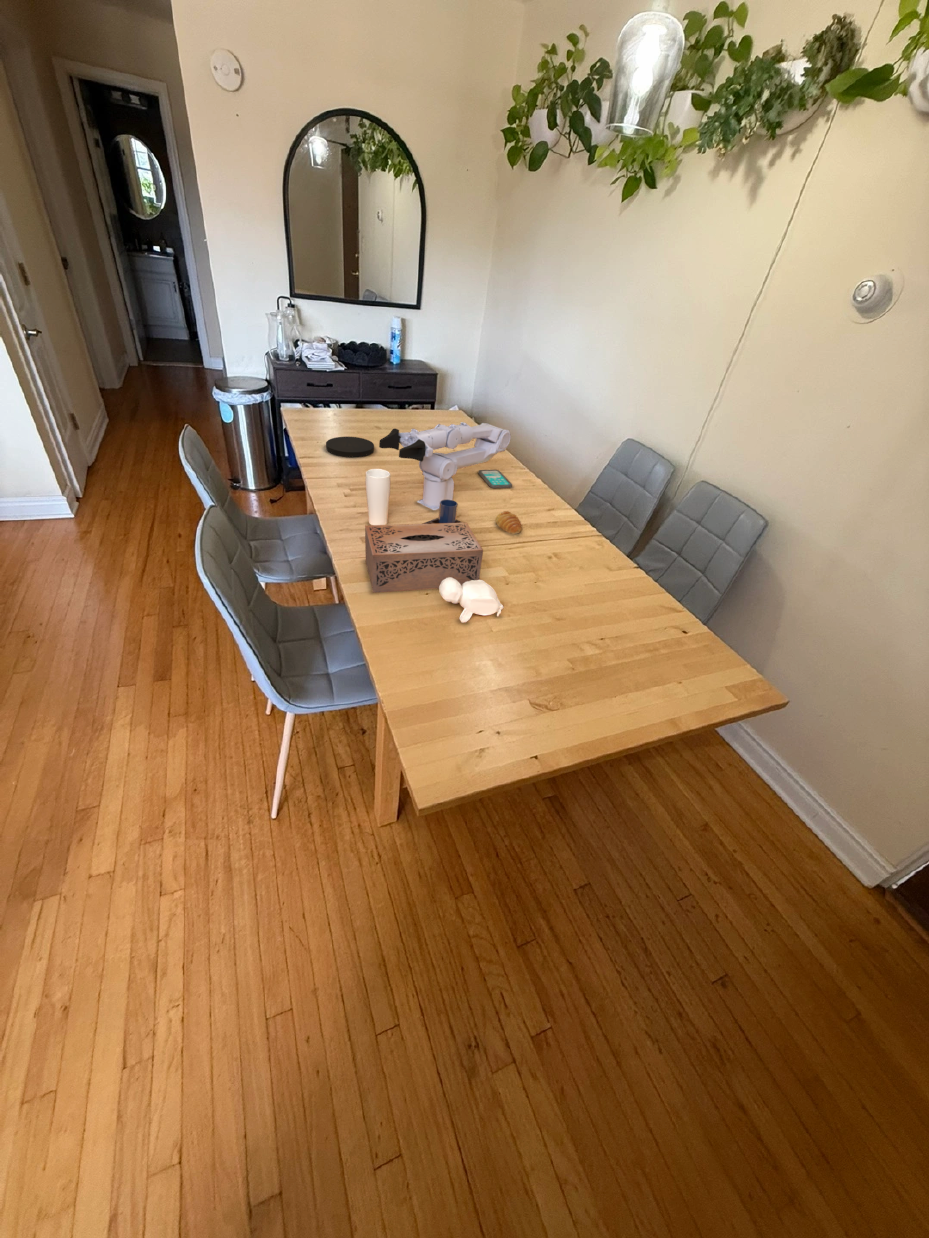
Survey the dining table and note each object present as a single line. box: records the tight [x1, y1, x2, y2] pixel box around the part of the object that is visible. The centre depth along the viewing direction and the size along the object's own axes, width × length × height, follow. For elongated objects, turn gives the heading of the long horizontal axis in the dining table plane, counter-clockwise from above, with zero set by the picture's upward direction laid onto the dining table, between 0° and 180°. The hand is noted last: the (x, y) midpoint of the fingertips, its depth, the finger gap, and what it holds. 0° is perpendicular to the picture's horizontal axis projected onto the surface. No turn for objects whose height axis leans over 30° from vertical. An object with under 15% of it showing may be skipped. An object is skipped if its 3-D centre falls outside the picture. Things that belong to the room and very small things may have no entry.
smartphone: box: [478, 469, 513, 489], centre depth 183 cm, size 9×1×15 cm
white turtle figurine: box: [438, 577, 504, 624], centre depth 114 cm, size 9×8×15 cm
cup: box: [438, 499, 459, 523], centre depth 145 cm, size 5×5×8 cm
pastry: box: [495, 510, 523, 535], centre depth 152 cm, size 9×7×4 cm
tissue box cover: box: [364, 522, 484, 594], centre depth 124 cm, size 26×14×10 cm, turn 105°
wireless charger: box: [325, 436, 375, 459], centre depth 193 cm, size 18×18×2 cm
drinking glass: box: [364, 468, 391, 525], centre depth 142 cm, size 7×7×15 cm
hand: (390, 448), depth 136 cm, fingers open, 7 cm apart
